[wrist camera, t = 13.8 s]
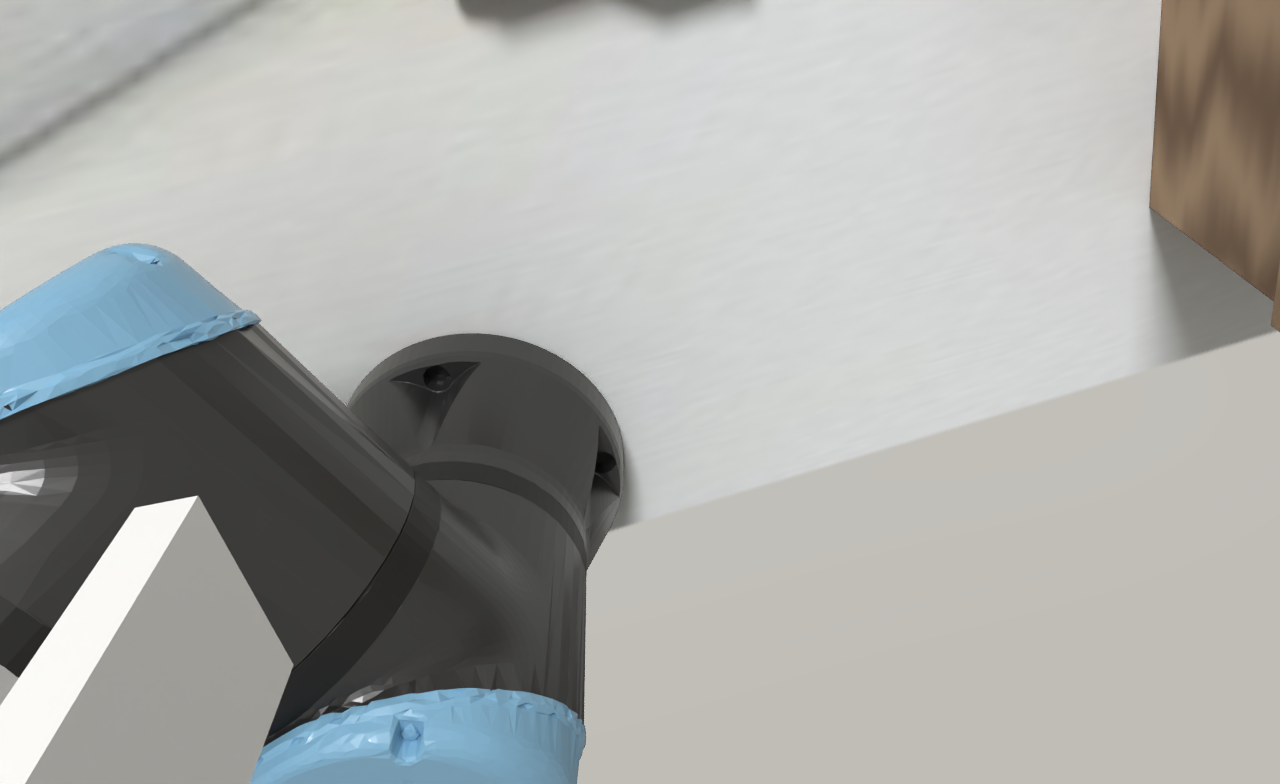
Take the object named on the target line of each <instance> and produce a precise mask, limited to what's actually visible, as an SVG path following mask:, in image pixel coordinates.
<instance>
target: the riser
mask: <svg viewBox="0 0 1280 784" xmlns="http://www.w3.org/2000/svg"><path fill="white" fill-rule="evenodd" d="M1150 208H1151V209H1153V210H1154V211H1155V212H1157V213H1158V214H1159V215H1161V216H1162V217H1163V218H1165V219H1166V220H1167V221H1169V222H1170V223H1171V224H1172V225H1174V226H1175V227H1176V228H1178V229H1179V230H1180V231H1182V232H1183V233H1184V234H1186V235H1187V236H1188V237H1190V238H1191V239H1192V240H1194V241H1195V242H1196V243H1197V244H1199V245H1200V246H1201V247H1203V248H1204V249H1205V250H1207V251H1208V252H1209V253H1211V254H1212V255H1213V256H1215V257H1216V258H1217V259H1219V260H1220V261H1221V262H1222V263H1224V264H1225V265H1226V266H1228V267H1229V268H1230V269H1232V270H1233V271H1234V272H1236V273H1237V274H1238V275H1240V276H1241V277H1242V278H1244V279H1245V280H1246V281H1247V282H1249V283H1250V284H1251V285H1253V286H1254V287H1255V288H1257V289H1258V290H1259V291H1261V292H1262V293H1263V294H1265V295H1266V296H1267V297H1269V298H1270V299H1271V300H1273V301H1274V307H1273V314H1272V321H1271V326H1273V327H1274V328H1275V329H1276V330H1278V331H1279V332H1280V0H1162V14H1161V30H1160V47H1159V63H1158V79H1157V95H1156V111H1155V128H1154V144H1153V160H1152V176H1151V192H1150Z"/></svg>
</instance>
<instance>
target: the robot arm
mask: <svg viewBox="0 0 1280 784" xmlns="http://www.w3.org/2000/svg"><path fill="white" fill-rule="evenodd" d="M260 321H261V319H260V318H259V317H258V316H257V315H256V314H255V313H253V312H252V311H248V310H242V309H241V308H240V307H238V306H237V305H236V304H235V303H233V302H232V301H231V300H230V299H228V298H227V297H226V296H225V295H223V294H222V293H221V292H220V291H218V290H217V289H216V288H215V287H214V286H212V285H211V284H210V283H209V282H208V281H207V280H205V279H204V278H203V277H202V276H201V275H200V274H198V273H197V272H196V271H195V270H194V269H193V268H191V267H190V266H189V265H188V264H187V263H185V262H184V261H183V260H182V259H180V258H179V257H177V256H176V255H175V254H173V253H171V252H169V251H167V250H165V249H162V248H159V247H157V246H152V245H147V244H139V243H129V244H122V245H117V246H113V247H110V248H106V249H104V250H102V251H99V252H97V253H95V254H93V255H91V256H90V257H88V258H86V259H84V260H82V261H81V262H79V263H77V264H75V265H74V266H72V267H70V268H68V269H67V270H65V271H63V272H61V273H60V274H58V275H56V276H55V277H53V278H51V279H50V280H48V281H46V282H45V283H43V284H42V285H40V286H38V287H37V288H35V289H33V290H32V291H30V292H29V293H27V294H25V295H24V296H22V297H21V298H19V299H17V300H16V301H14V302H13V303H11V304H9V305H8V306H6V307H5V308H3V309H2V310H0V784H577V776H578V766H579V760H580V758H581V756H582V751H583V749H584V747H585V744H586V732H585V726H584V680H585V679H584V677H585V623H586V571H587V569H588V567H589V565H590V564H591V562H592V560H593V558H594V556H595V554H596V553H597V551H598V549H599V547H600V545H601V543H602V542H603V540H604V538H605V536H606V534H607V533H608V531H609V529H610V527H611V525H612V523H613V521H614V519H615V516H616V514H617V511H618V508H619V504H620V500H621V496H622V490H623V444H622V439H621V434H620V430H619V427H618V424H617V421H616V419H615V417H614V414H613V412H612V410H611V409H610V407H609V405H608V403H607V402H606V400H605V399H604V397H603V396H602V394H601V393H600V392H599V391H598V389H597V388H596V387H595V386H594V385H593V384H592V383H591V381H590V380H589V379H588V378H586V377H585V376H584V375H583V374H582V373H581V372H580V371H579V370H577V369H576V368H575V367H574V366H572V365H571V364H569V363H568V362H566V361H565V360H563V359H562V358H560V357H558V356H557V355H555V354H553V353H551V352H549V351H547V350H545V349H543V348H540V347H538V346H536V345H533V344H530V343H527V342H524V341H521V340H517V339H513V338H509V337H504V336H498V335H490V334H455V335H447V336H441V337H436V338H432V339H428V340H425V341H422V342H419V343H416V344H413V345H411V346H409V347H406V348H404V349H402V350H400V351H398V352H397V353H395V354H393V355H391V356H390V357H388V358H387V359H385V360H384V361H383V362H381V363H380V364H379V365H378V366H376V367H375V368H374V369H373V370H372V371H371V372H370V373H369V374H368V375H367V376H366V377H365V378H364V379H363V381H362V382H361V383H360V385H359V386H358V387H357V389H356V390H355V392H354V394H353V395H352V397H351V399H350V401H349V403H348V406H347V407H346V406H345V405H344V404H343V403H342V402H341V401H340V400H339V399H338V398H337V397H336V396H335V395H334V394H333V393H332V392H331V391H329V390H328V389H327V388H326V387H325V386H324V385H323V384H322V383H321V382H320V381H319V380H318V379H317V378H316V377H315V376H314V375H313V374H312V373H310V372H309V371H308V370H307V369H306V368H305V367H304V366H303V365H302V364H301V363H300V362H299V361H298V360H297V359H296V358H295V357H294V356H293V355H292V354H290V353H289V352H288V351H287V350H286V349H285V348H284V347H283V346H282V345H281V344H280V343H279V342H278V341H277V340H276V339H275V338H274V337H273V336H272V335H270V334H269V333H268V332H267V331H266V330H265V329H264V328H263V327H262V326H261V325H260V324H259V322H260Z"/></svg>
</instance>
